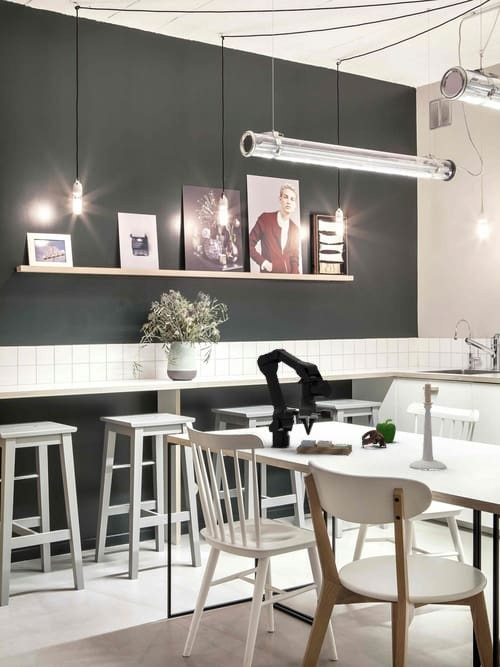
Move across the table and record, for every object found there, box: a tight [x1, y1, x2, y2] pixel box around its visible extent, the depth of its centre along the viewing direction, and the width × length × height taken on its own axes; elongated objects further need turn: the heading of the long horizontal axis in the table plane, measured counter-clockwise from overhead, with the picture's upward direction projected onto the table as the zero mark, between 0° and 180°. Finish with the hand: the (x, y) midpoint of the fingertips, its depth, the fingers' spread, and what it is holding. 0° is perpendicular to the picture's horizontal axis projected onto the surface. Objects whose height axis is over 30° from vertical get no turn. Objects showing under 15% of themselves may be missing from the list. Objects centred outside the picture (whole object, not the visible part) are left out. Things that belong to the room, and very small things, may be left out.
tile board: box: [296, 443, 353, 456], centre depth 340 cm, size 20×12×2 cm, turn 76°
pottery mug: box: [361, 429, 388, 449], centre depth 353 cm, size 12×10×8 cm
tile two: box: [316, 440, 333, 447], centre depth 340 cm, size 5×5×2 cm
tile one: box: [300, 439, 317, 447], centre depth 342 cm, size 5×5×2 cm
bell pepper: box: [375, 418, 397, 444], centre depth 367 cm, size 8×8×10 cm
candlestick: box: [408, 383, 447, 471], centre depth 305 cm, size 13×13×30 cm
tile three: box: [334, 443, 349, 448], centre depth 338 cm, size 5×5×2 cm
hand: (308, 435), depth 342 cm, fingers closed
